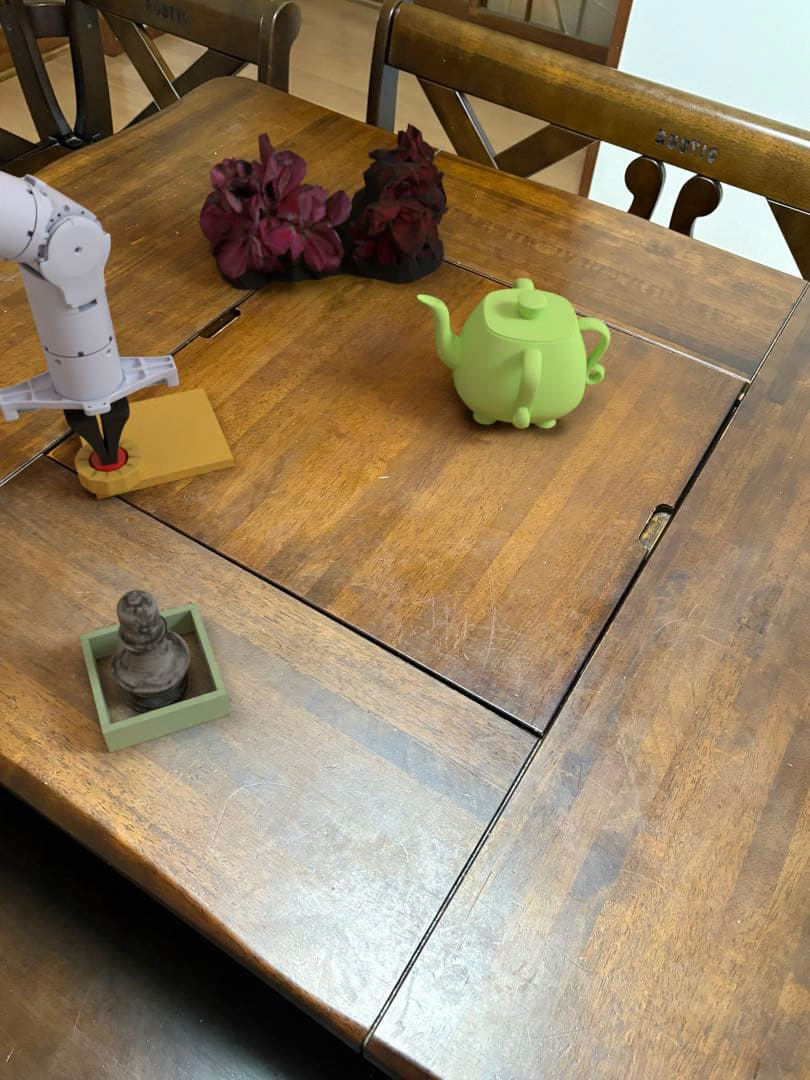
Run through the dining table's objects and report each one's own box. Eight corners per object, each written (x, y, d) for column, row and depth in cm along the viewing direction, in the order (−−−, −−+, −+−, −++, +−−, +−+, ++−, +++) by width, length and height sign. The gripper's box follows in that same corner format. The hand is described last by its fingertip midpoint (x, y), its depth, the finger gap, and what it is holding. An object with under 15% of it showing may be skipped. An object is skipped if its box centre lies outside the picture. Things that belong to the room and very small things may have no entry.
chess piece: (121, 724, 70) (90, 634, 61) (116, 661, 73) (86, 566, 64) (199, 708, 71) (180, 617, 62) (190, 647, 74) (171, 552, 65)
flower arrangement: (413, 198, 124) (422, 84, 112) (479, 277, 112) (495, 159, 101) (186, 236, 114) (170, 116, 103) (232, 327, 103) (220, 203, 91)
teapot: (494, 471, 90) (513, 370, 81) (407, 392, 97) (415, 290, 88) (608, 411, 97) (638, 311, 88) (519, 341, 104) (538, 242, 95)
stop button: (98, 485, 84) (94, 472, 82) (92, 463, 86) (88, 450, 84) (131, 477, 85) (128, 464, 83) (124, 456, 86) (121, 443, 85)
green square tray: (109, 753, 68) (102, 733, 66) (86, 656, 73) (78, 634, 71) (230, 714, 71) (227, 693, 68) (199, 623, 76) (195, 601, 74)
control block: (88, 510, 84) (81, 487, 81) (65, 426, 91) (58, 403, 88) (237, 473, 88) (235, 451, 85) (204, 396, 95) (201, 373, 93)
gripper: (-12, 385, 69) (33, 507, 79) (178, 347, 73) (197, 467, 84) (-23, 331, 73) (21, 453, 83) (158, 298, 78) (178, 418, 88)
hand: (108, 457), depth 84 cm, fingers closed, pressing on stop button
